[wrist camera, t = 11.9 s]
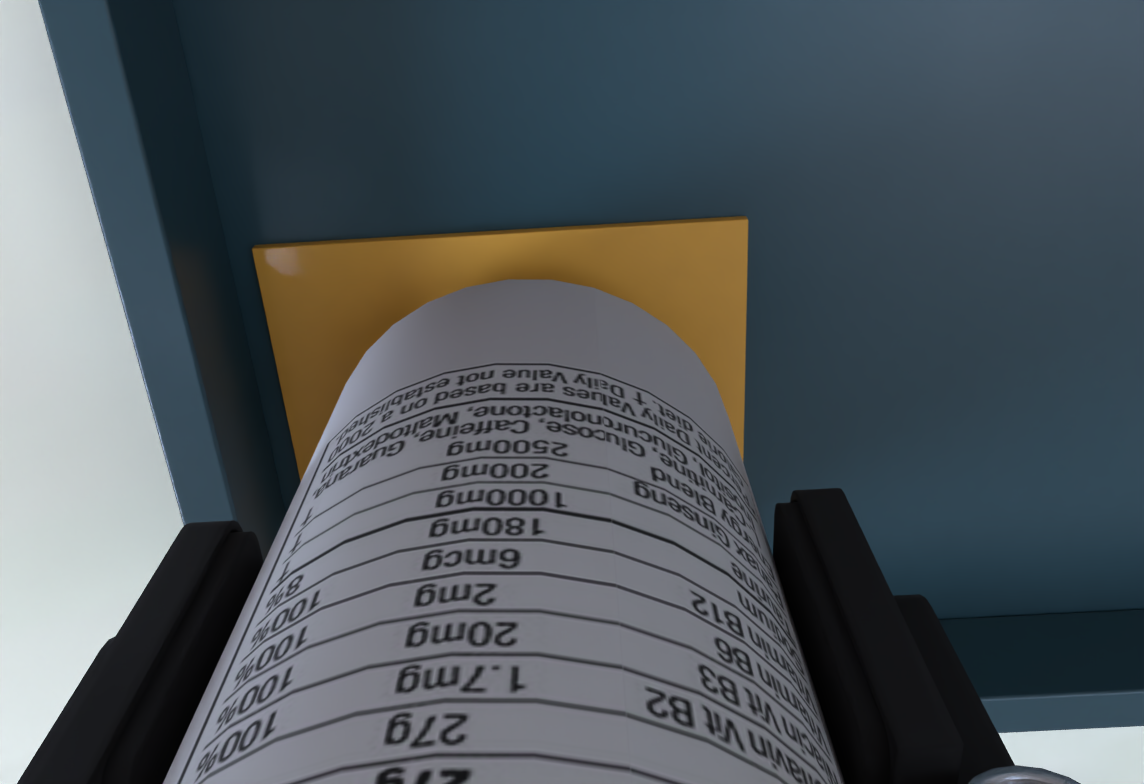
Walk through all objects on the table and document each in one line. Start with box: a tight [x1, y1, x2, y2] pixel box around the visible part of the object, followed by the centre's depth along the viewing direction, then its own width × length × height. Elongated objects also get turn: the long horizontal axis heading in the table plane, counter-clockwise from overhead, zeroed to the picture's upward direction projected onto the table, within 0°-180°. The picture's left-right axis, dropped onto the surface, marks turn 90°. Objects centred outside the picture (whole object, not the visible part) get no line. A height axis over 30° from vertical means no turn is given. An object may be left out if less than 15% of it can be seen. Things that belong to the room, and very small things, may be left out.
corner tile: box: [252, 216, 748, 481], centre depth 16 cm, size 7×7×1 cm
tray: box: [38, 0, 1144, 733], centre depth 14 cm, size 22×16×3 cm
